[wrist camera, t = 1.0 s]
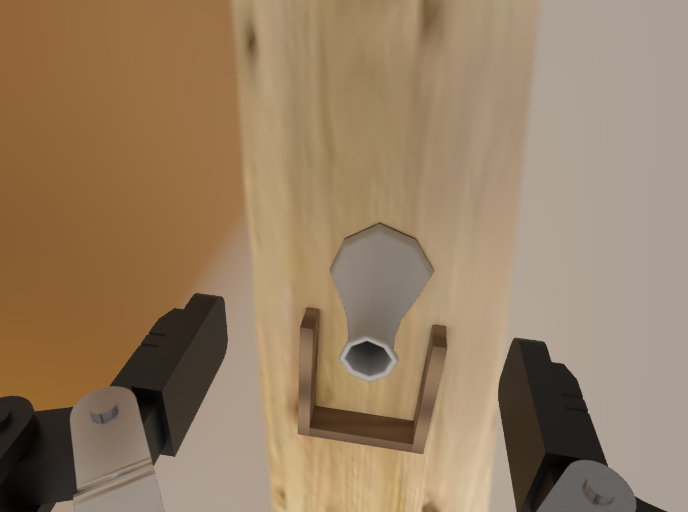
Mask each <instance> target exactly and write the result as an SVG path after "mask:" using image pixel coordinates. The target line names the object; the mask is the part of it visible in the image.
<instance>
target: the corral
mask: <svg viewBox="0 0 688 512" xmlns="http://www.w3.org/2000/svg"><path fill="white" fill-rule="evenodd" d="M318 325H319V309H311V308H307V309H306V312H305V315H304V318H303V321H302V323H301V326H300V356H299V402H298V434H300V435H307V436H313V437H319V438H325V439H332V440H338V441H344V442H350V443H357V444H363V445H369V446H375V447H382V448H388V449H394V450H400V451H407V452H413V453H419V454H423V452H424V448H425V443H426V439H427V434H428V430H429V426H430V421H431V417H432V412H433V408H434V403H435V399H436V394H437V390H438V385H439V381H440V377H441V372H442V368H443V363H444V359H445V354H446V350H447V342H446V327H443V326H436V325H433V326H432V331H431V336H430V341H429V346H428V351H427V356H426V361H425V366H424V371H423V376H422V381H421V386H420V391H419V396H418V401H417V406H416V411H415V416H414V421H407V420H401V419H394V418H388V417H381V416H375V415H369V414H362V413H356V412H349V411H343V410H336V409H330V408H323V407H317V406H315V390H316V368H317V346H318Z"/></svg>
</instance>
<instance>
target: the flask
mask: <svg viewBox="0 0 688 512" xmlns="http://www.w3.org/2000/svg"><path fill="white" fill-rule="evenodd" d="M330 272H331V275H332V278H333V280H334V283H335V285H336V288H337V290H338V293H339V295H340V298H341V301H342V304H343V307H344V310H345V313H346V317H347V324H348V341H347V343H346V345H345V346H344V348H343V350H342V352H341V354H340V355H339V360H340V361H341V363H342V364H343V365H344V367H345V368H346V370H347V371H348V372H349V374H351V375H353V376H356V377H358V378H361V379H363V380H366V381H368V382H371V381H374V380H377V379H380V378H383V377H386V376H389V374H390V373H391V371H392V370H393V368H394V367H395V365H396V364H397V362H398V355H397V354H396V352H395V351H394V341H395V336H396V333H397V330H398V328H399V325H400V322H401V320H402V319H403V317H404V316H405V314H406V313H407V312H408V310H409V309H410V308H411V306H412V305H413V304H414V302H415V300H416V299H417V297H418V296H419V294H420V293H421V291H422V289H423V288H424V286H425V285H426V283H427V281H428V280H429V278H430V277H431V275H432V273H433V272H434V271H433V269H432V267H431V265H430V264H429V262H428V260H427V258H426V257H425V255H424V253H423V251H422V250H421V248H420V246H419V244H418V242H417V241H416V240H415V239H413V238H410V237H408V236H406V235H404V234H401V233H399V232H397V231H394V230H392V229H390V228H388V227H385V226H383V225H381V224H377V225H375V226H373V227H371V228H369V229H367V230H364V231H362V232H360V233H358V234H356V235H354V236H351V237H349V238H347V239H345V240H344V241H343V243H342V245H341V248H340V250H339V252H338V254H337V256H336V258H335V260H334V262H333V264H332V266H331V268H330Z"/></svg>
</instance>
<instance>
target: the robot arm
mask: <svg viewBox="0 0 688 512" xmlns="http://www.w3.org/2000/svg"><path fill="white" fill-rule="evenodd" d="M227 342H228V336H227V325H226V313H225V302H224V299H223V297H221V296H214V295H207V294H200V293H196V294H194V295H193V297H192V298H191V299H190V301H189V302H188V304H187V305H186V306H185V308H184V309H176V308H174V309H173V310H171V311H170V312H168V313H167V314H165V315H164V316H162V317H161V318H159V319H158V321H157V322H156V323H155V325H154V326H153V328H152V329H151V330H150V332H149V335H147V336H146V337H145V338H144V340H143V341H142V343H141V346H139V347H138V348H137V349H136V351H135V352H134V353H133V355H132V356H131V358H130V359H129V360H128V362H127V363H126V364H125V366H124V367H123V368H122V370H121V371H120V373H119V374H118V375H117V377H116V378H115V379H114V381H113V382H112V384H111V385H110V386H109V387H104V388H101V389H97V390H95V391H93V392H91V393H89V394H88V395H86V396H84V397H83V398H82V399H80V400H79V402H77V404H76V405H75V406H74V407H69V408H61V409H52V410H44V411H34V409H33V406H32V404H31V403H30V401H29V400H27V399H25V398H23V397H19V396H7V397H2V398H0V512H51V510H52V508H53V507H54V505H55V503H56V502H62V501H69V500H73V503H74V504H73V505H74V512H165V510H164V506H163V503H162V498H161V494H160V491H159V487H158V482H157V479H156V475H155V471H154V465H155V463H156V461H157V459H158V457H159V455H160V454H162V455H168V456H174V457H175V455H176V453H177V451H178V449H179V447H180V445H181V443H182V441H183V439H184V437H185V435H186V433H187V431H188V429H189V427H190V425H191V423H192V421H193V419H194V417H195V415H196V413H197V411H198V409H199V407H200V405H201V403H202V401H203V399H204V397H205V395H206V393H207V391H208V389H209V387H210V385H211V383H212V381H213V379H214V377H215V375H216V373H217V371H218V369H219V367H220V365H221V363H222V361H223V359H224V357H225V353H226V349H227ZM498 401H499V407H500V413H501V419H502V425H503V431H504V437H505V443H506V449H507V456H508V461H509V468H510V473H511V479H512V486H513V492H514V497H515V503H516V510H517V512H666V511H664V510H661V509H660V508H657V507H655V506H653V505H650V504H648V503H646V502H644V501H642V500H640V499H639V498H637V497H635V496H634V493H633V492H632V489H631V488H630V486H629V485H628V484H627V482H626V481H625V480H624V479H623V478H622V477H621V476H620V475H619V474H618V473H616V472H615V471H614V470H612V469H611V468H609V467H608V465H607V462H606V459H605V456H604V454H603V451H602V448H601V445H600V442H599V440H598V437H597V434H596V431H595V429H594V426H593V423H592V420H591V417H590V415H589V414H588V409H587V406H586V403H585V401H584V400H583V395H582V392H581V390H580V387H579V384H578V381H577V379H576V378H575V377H574V376H573V374H572V373H571V372H570V371H569V370H568V369H567V367H566V366H565V365H564V364H561V363H554V362H551V359H550V356H549V352H548V349H547V346H546V344H545V342H543V341H536V340H529V339H521V338H514V339H513V341H512V343H511V346H510V349H509V352H508V355H507V358H506V361H505V364H504V368H503V371H502V374H501V377H500V381H499V388H498Z"/></svg>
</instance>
